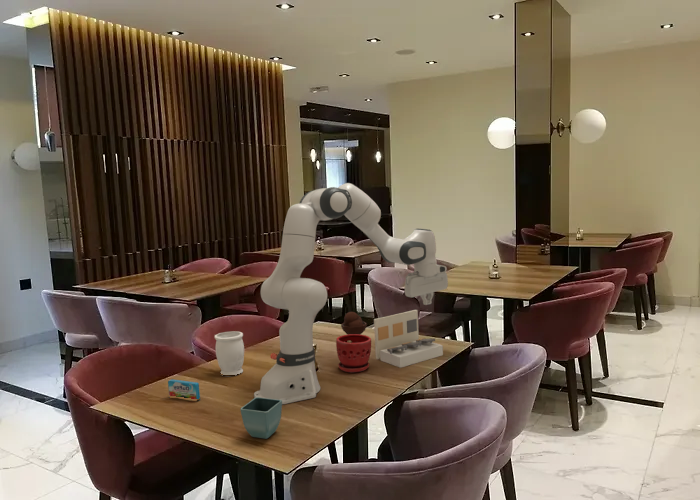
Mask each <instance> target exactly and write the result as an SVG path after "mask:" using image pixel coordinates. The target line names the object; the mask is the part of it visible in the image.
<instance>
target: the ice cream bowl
mask: <svg viewBox="0 0 700 500" xmlns="http://www.w3.org/2000/svg"><path fill="white" fill-rule="evenodd" d="M343 320H344V321H343V323H341V324H340V326H341V327H340V328H341V329H342V331H343V332H344V333H345V335H349V334H360V335H363V333H364V332H365V331H366V329H367V326H368V325H367V324H368V323H367V322H365V321H363V319H362V317H361V316H360V315H358V314H357V312H354V311H349V312H346V314H345V315H344V318H343ZM350 343H352V341H350ZM355 343H357V342H355Z"/></svg>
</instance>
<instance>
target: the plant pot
mask: <svg viewBox="0 0 700 500" xmlns="http://www.w3.org/2000/svg"><path fill="white" fill-rule="evenodd" d="M349 341H350V342H349ZM351 342H352V343H351ZM355 342H357V343H355ZM335 343H336V344H335V345H336V354H337V358H338V360H339V363H338V364H337V365H338V368H339V369H340V370H341V371H343V372H346V373H360V372H364V371H366V370H367V369H368V368H369V366H370V363H369V360H370V357H371V354H372V353H371V352H372V338H371V337H370V336H368V335H366V334H349V335H347V334H343V335H340V336H337V337H336V340H335Z"/></svg>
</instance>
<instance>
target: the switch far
mask: <svg viewBox="0 0 700 500" xmlns="http://www.w3.org/2000/svg"><path fill="white" fill-rule="evenodd" d="M419 341H421V343H429V342H433V343H434V342H436V339H435V338H432V339H430V338H425V337H423V338H419V339H418V340H416V342H419Z"/></svg>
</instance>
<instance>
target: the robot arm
mask: <svg viewBox="0 0 700 500" xmlns="http://www.w3.org/2000/svg"><path fill="white" fill-rule="evenodd" d="M342 216H345V218H347V219H348V220H349V221H350V222H351V223H352V224H353V225H354V226H355V227H357V228H358V229H359V230H360V231H361V232H363V234H364V236H366V237H367V238H368V239H369V240H370V241H371V242H372V243H373V244H374V246H375V247H376V249H378V251H379V254H380V256H381V258H382V259H383V260H384V261H385V262H387V263H390V264H398V265H404V266H405V265H407V266H411V265H413V269H414V270H413V272H409V273H408V274H407V275H406V276H405V282H404V295H405V296H406V297H408V298H415V297H419V296H420V298H421V300H422V304H423V305H425V306H427V305H431V304H432V301H433V300H432V299H433V297H434V293H435V292H440V291H444V290H447V289H448V285H449V279H448V273H447V270H448V269H447V266H445V265H441V264H439V263H438V262H437V258H436V253H437V243H436V236H435V233H434V232H433V231H432V230H431V229H426V228H415V229H413V232H412V233H410V234H409V235H408V236H407V237H404V238H398V237H393V236H390V235H389V234H388V233H387V232H386V231H385V230H384V229H383V228H382V227H381V226H380V224H379V222H380V220H381V216H382V212H381V209H380V207H379V206H378V204H377V203H376V202H375V201H374V200H373V198H371V197H370V196H369V195H368V194H367V193H365V192H364V191H363V190H362V189H360V188H359V187H358V186H356V185H355V184H353V183H350V182H345V183H343V184H341V185H339V186H338V187H335V186H332V187H326V188H325V187H324V188H323V187H321V188H317V189H314V190H310V191H308V192H307V193H305V194H303V196H302V197H301V199H300V201H299V203H295V204H292V205H291V206H290V207H289V208H288V210H287V213H286V216H285V221H284V224H283V225H284V226H283V231H282V239H281V246H280V247H281V248H280V252H279V253H280V254H279V257H278V258H279V259H278V261H277V264H276V266H275V268H274V269H273V272H272V273H271V275H270V276H269V277H268V278H266V279H265V280H264V281H263V283H262V284H261V286H260V297H261V300H262V301H263V303H265V304H266V305H268V306H270V307H272V308H274V309H280V310H281V309H282V310H288V319H287V321H286V322H284V323H282V325H281V326H280V328H279V331H278V333H279V334H278V335H279V348H280V350H279V352H278V354H277V353H275V352H271V354H270V358H271V360H275V361H276V363H275V364H274V365H273V366H272V367H271V368H269V370H268V371H267V372H266V373H265V374H264V375H263V376H262V377H261V380H260V389H259V390H257V391H255V392H254V393H253V397H254V398H256V397H259V398H267V399H276V400H282V405H286V404H291V403H294V402H295V403H296V402H299V401H305V400H309V399H314V398H316V397H317V393H319V392H320V391H321V386H320V383H319V378H318V375H317V371H316V366H315V363H316V352H315V348H314V339H313V337H314V335H313V333H314V332H313V330H314V329H313V328H314V327H313V326H314V322H315V319H316V316H317V314H318V313H319V312H320V311H321V310H322V309H323V308H324V306H325V305H326V302H327V301H328V290H327V288H326V286H325V285H324V283H322V282H321V281H318V280H316V279H313V278H308V277H307V278H306V277H301V275H302V273H303V271H304V269H305V268H306V267H307V266H309V265H310V264H311V263H313V260H314V255H315V245H316V244H315V243H316V235H317V226H318V224H319V222H321V221H331V220H336V219H339V218H342ZM254 398H253V399H254Z"/></svg>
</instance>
